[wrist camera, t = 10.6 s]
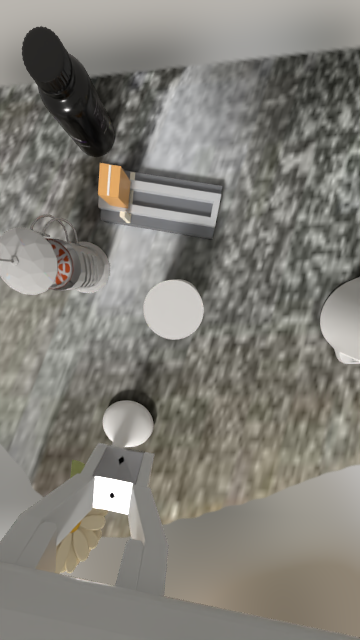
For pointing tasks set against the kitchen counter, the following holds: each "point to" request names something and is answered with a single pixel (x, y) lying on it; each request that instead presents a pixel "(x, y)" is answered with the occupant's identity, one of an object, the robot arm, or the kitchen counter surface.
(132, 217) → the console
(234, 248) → the kitchen counter surface
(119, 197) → the fader
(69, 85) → the supplement bottle
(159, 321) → the light grey cylinder
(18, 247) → the french press
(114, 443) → the flower in vase
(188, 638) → the robot arm
